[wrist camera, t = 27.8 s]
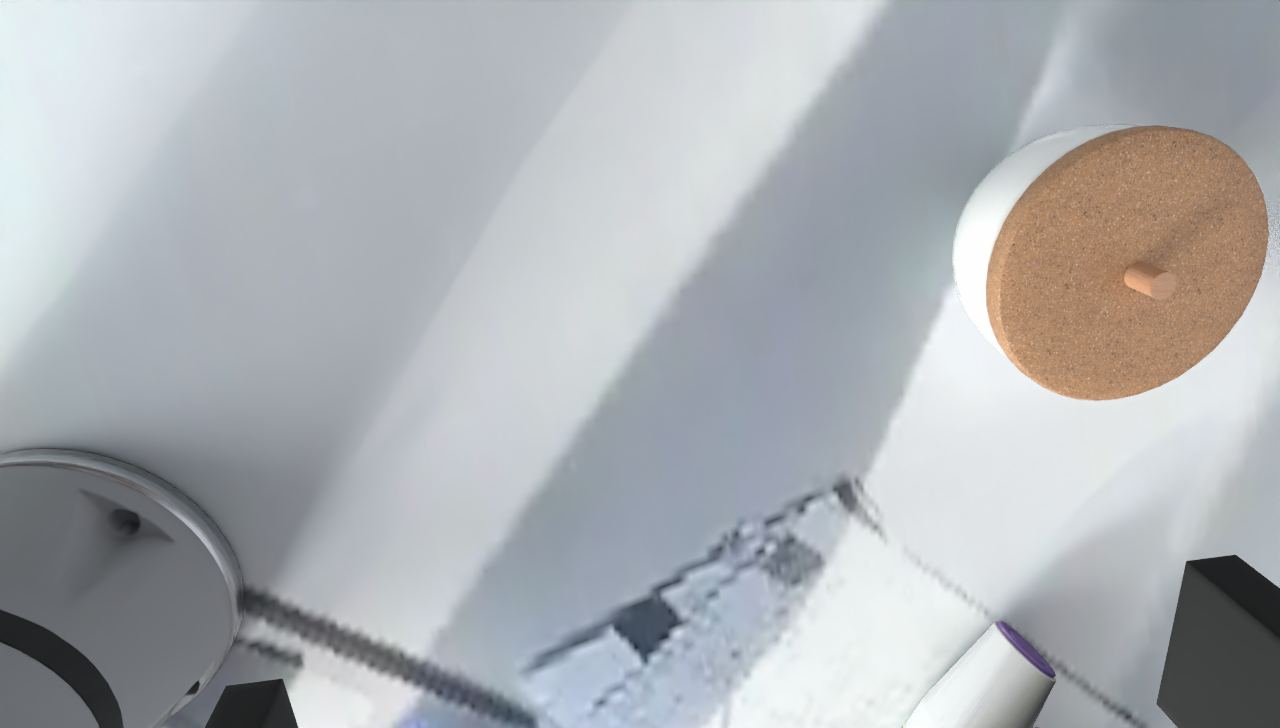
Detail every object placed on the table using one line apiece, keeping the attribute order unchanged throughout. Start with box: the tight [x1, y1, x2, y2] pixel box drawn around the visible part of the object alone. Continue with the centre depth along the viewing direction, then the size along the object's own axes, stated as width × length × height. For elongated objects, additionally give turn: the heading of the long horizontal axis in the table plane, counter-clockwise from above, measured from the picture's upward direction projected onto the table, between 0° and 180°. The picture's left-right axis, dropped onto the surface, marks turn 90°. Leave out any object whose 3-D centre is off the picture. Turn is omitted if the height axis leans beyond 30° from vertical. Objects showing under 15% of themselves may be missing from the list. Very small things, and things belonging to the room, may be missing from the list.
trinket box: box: [952, 124, 1269, 401], centre depth 34 cm, size 11×11×9 cm
